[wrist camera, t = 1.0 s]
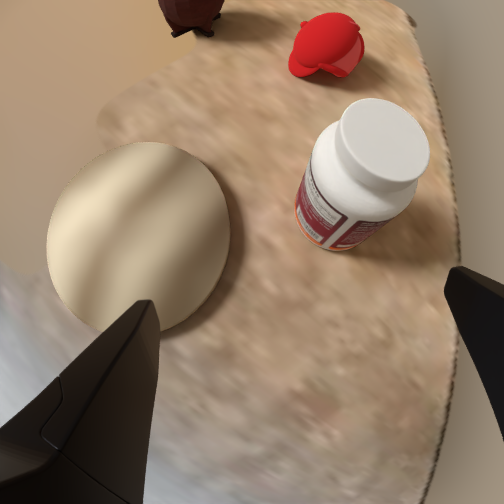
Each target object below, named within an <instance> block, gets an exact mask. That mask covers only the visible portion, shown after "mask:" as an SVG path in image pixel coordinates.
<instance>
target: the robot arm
mask: <svg viewBox="0 0 504 504" xmlns="http://www.w3.org/2000/svg"><path fill="white" fill-rule="evenodd" d="M444 295H445V298H446V300H447V303H448V305H449V307H450V310H451V312H452V315H453V317H454V320H455V322H456V325H457V327H458V330H459V332H460V334H461V337H462V339H463V341H464V343H465V345H466V347H467V349H468V351H469V353H470V356H471V358H472V360H473V362H474V364H475V366H476V369H477V371H478V373H479V376H480V378H481V381H482V383H483V385H484V388H485V390H486V393H487V395H488V398H489V400H490V403H491V405H492V408H493V411H494V414H495V417H496V419H497V422H498V425H499V428H500V431H501V434H502V437H503V441H504V285H503V284H501V283H499V282H497V281H495V280H492V279H490V278H488V277H486V276H483V275H481V274H479V273H477V272H475V271H472V270H470V269H468V268H466V267H463V266H457V267H452V268H451V269H450V271H449V274H448V277H447V281H446V284H445V287H444ZM159 347H160V321H159V318H158V315H157V312H156V308H155V305H154V303H153V301H152V300H151V299H144V300H137V301H136V302H135V303H134V304H133V305H132V306H131V307H129V308H128V309H127V310H126V311H125V312H124V313H123V314H122V315H121V316H120V317H119V318H118V319H116V320H115V321H114V322H113V323H112V324H111V325H110V326H109V327H108V328H107V329H106V330H105V331H104V332H103V333H102V334H101V335H100V336H98V337H97V338H96V339H95V340H94V341H93V342H92V343H91V344H90V345H89V346H88V347H87V348H86V349H85V350H84V351H83V352H82V353H81V354H80V355H79V356H78V357H77V358H76V359H75V360H74V361H72V362H71V363H70V364H69V365H68V366H67V367H66V368H65V369H64V370H63V371H62V372H61V373H60V374H59V377H58V376H57V377H56V378H55V379H54V380H53V381H52V382H51V383H50V384H49V385H48V386H47V387H46V388H45V389H44V390H43V391H42V392H41V393H40V394H39V395H38V396H37V397H36V398H34V399H33V400H32V401H31V402H30V403H29V404H28V405H26V406H25V407H24V408H23V409H22V410H21V411H20V412H18V413H17V414H16V415H15V416H14V417H13V418H11V419H10V420H9V421H8V422H7V423H6V424H4V425H3V426H2V427H1V428H0V504H143V495H144V484H145V473H146V464H147V455H148V446H149V438H150V430H151V422H152V415H153V408H154V401H155V394H156V388H157V381H158V369H159Z"/></svg>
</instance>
